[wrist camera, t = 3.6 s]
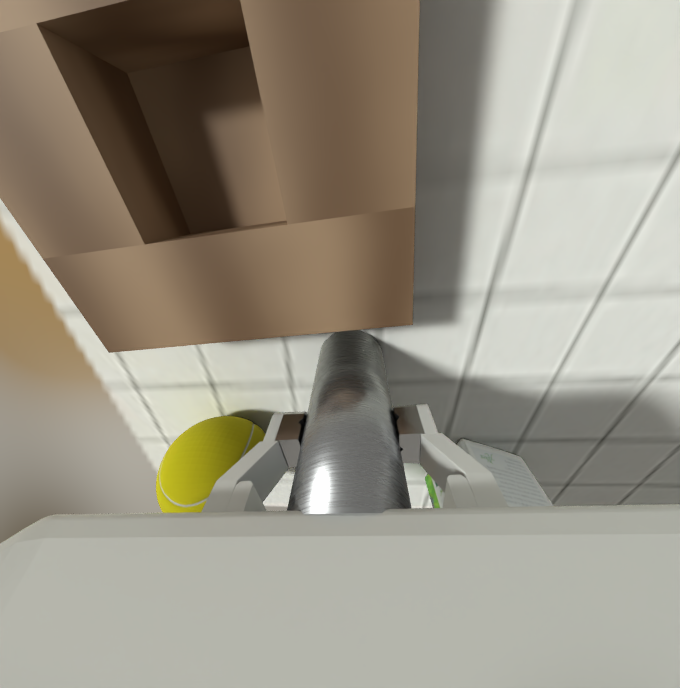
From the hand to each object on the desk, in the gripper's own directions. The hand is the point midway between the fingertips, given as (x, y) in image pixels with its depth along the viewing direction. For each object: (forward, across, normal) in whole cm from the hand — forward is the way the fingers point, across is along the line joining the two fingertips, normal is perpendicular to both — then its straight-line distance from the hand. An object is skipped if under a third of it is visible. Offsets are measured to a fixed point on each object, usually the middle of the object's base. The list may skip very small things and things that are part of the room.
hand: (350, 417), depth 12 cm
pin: (+5, 0, 0) cm, 5 cm away
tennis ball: (+5, +10, +6) cm, 13 cm away
